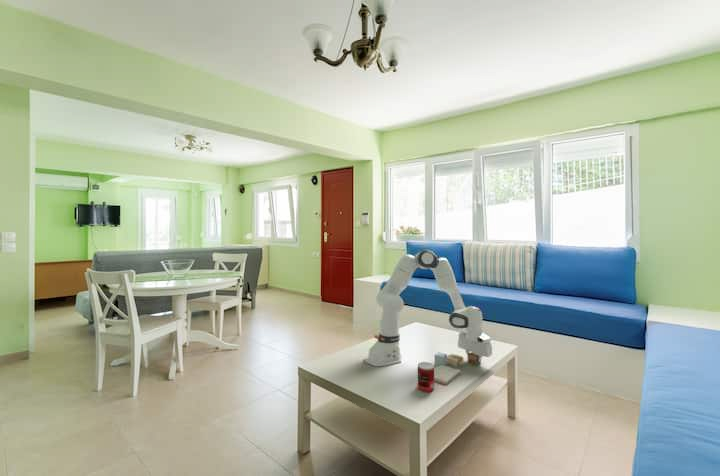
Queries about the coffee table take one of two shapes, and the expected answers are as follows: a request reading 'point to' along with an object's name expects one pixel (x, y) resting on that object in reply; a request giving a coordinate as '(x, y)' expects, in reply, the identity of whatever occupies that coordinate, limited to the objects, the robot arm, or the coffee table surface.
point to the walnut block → (473, 358)
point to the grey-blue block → (440, 359)
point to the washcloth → (445, 374)
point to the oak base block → (454, 360)
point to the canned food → (426, 377)
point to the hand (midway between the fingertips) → (474, 359)
